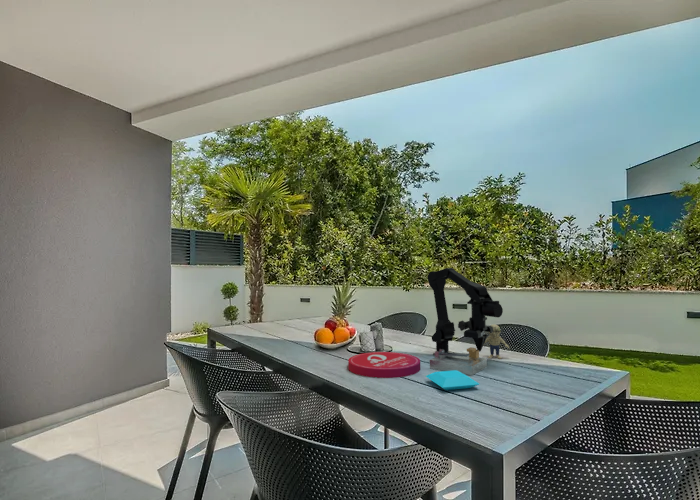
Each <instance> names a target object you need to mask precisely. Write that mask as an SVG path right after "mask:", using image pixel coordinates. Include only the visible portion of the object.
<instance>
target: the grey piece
mask: <svg viewBox="0 0 700 500" xmlns="http://www.w3.org/2000/svg"><path fill="white" fill-rule="evenodd" d="M439 350H440V351H442V352H444V350H443V349H439ZM434 353H435V354H434V357H433V358H431V359H429V369H432V370H439V371H452V370H457V371H459V372H461V373H463V374H465V375H467V376H475V375H476V374H477V373H479V372H481V371H482V370H484V369H486V368H488V359H487V358H488V357H487V358H485V357H480V356H479V358H477V359H476V358H469V356H467V357H464V356H448V355H440V352H439V351H436V350H435V351H434Z"/></svg>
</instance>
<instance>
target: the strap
mask: <svg viewBox="0 0 700 500" xmlns="http://www.w3.org/2000/svg"><path fill="white" fill-rule="evenodd" d="M440 355H448V356H464V357H467V356H469V353H466V352H465V353H464V352H442V351H440Z"/></svg>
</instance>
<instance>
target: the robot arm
mask: <svg viewBox="0 0 700 500" xmlns="http://www.w3.org/2000/svg"><path fill="white" fill-rule="evenodd" d="M448 279H449V280H450V281H452V282H453V283H455V284H456V285H458V286H459V287H460V288H462V289H463V290H464V293H465V294H466V295H467V296H468V297H469V298H470V299H469V300H468V301H467V302H466V304H468V305H471V308H470V309H471V317H469V319H468V320H467V321H465V320H460V321H458V323H457V328H458V329H459V330H460V331H461V332H463V337H464V338H471V339H473V341H474V344H475V348H476V350H479V353H481V352H482V350H483V347H484V346H485V344H486V343H485V341H486V339H487V338H488V337H489V334H488V333H489V332H490V333H492V332H493V327H492V326H490V325H489V324H487V323H486V322H487V320H488V317H491V318H498V319H499V318H501V317H502V315H503V311H504V309H503V307H502V304H500V300H493V298H492V296H491V295H490V293H489V292H488V289H487V287H486V286H485V285H482V284H480V283H477V282H473V281H471V280H470V279H469V278H467V277H466V276H464V275H463V274H461V273H459V271H457V270H455V268H453V267H446V268H443V269H441V270H435V271H429V273H428V274H427V282H428V284H429V286H430V288H431V289H432V290H433V296H434V302H435V303H434V304H435V310H436V316H437V322H436V325H435V332H434V334H433V335H432V336H431V342H433V343H435V348H436V349H435V351H439V352H440V350H439V349H443V350H444V352H449V351H450V350H449V347H450V346H449V342H452V341H453V338H454V336H455V332H456V329H455V323H454V321H453V322H452V321H451V320H450V319H449V314H448V308H447V301H446V296H445V287H446V285H447V280H448ZM486 332H488V333H487V334H486ZM483 345H484V346H483ZM433 355H435V352H433Z"/></svg>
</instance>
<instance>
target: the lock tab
mask: <svg viewBox="0 0 700 500" xmlns="http://www.w3.org/2000/svg"><path fill="white" fill-rule="evenodd" d="M466 352H468V354H469V358H476V359H477V358H479V357H480V352H479V350H477V348H476V347H468V348H466Z"/></svg>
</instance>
